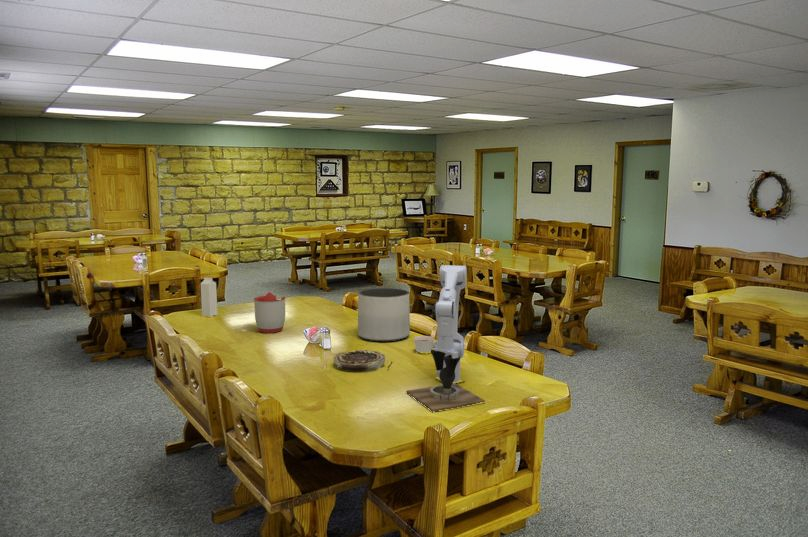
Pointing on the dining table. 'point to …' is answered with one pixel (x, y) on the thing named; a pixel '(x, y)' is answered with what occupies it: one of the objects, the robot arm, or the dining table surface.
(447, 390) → the light bulb
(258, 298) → the citrus juicer
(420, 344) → the candle
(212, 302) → the milk
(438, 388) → the socket ring
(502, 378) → the dining table surface
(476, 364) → the dining table surface
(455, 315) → the robot arm
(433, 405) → the socket board
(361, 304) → the planter
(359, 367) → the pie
